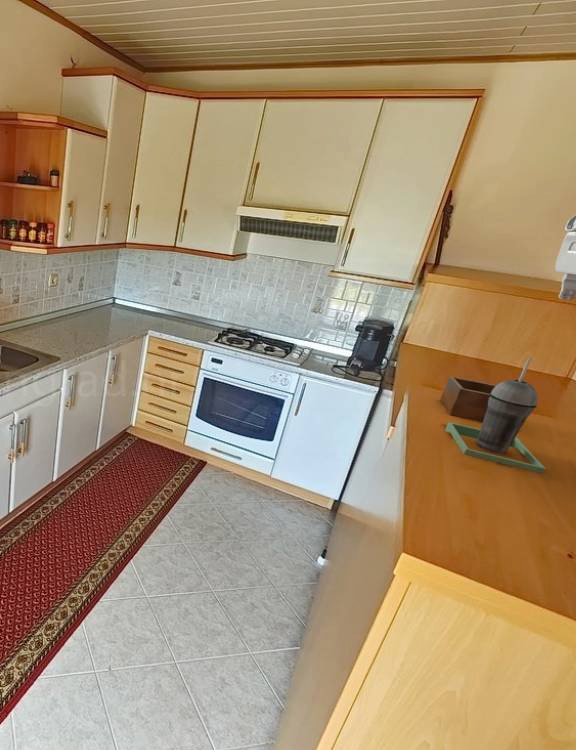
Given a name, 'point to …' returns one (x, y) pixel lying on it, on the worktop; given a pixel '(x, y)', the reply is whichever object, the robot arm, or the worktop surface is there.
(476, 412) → the brown rectangular open box
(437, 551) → the worktop surface
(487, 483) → the worktop surface
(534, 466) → the green rectangular frame
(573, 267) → the robot arm
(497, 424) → the beverage cup
